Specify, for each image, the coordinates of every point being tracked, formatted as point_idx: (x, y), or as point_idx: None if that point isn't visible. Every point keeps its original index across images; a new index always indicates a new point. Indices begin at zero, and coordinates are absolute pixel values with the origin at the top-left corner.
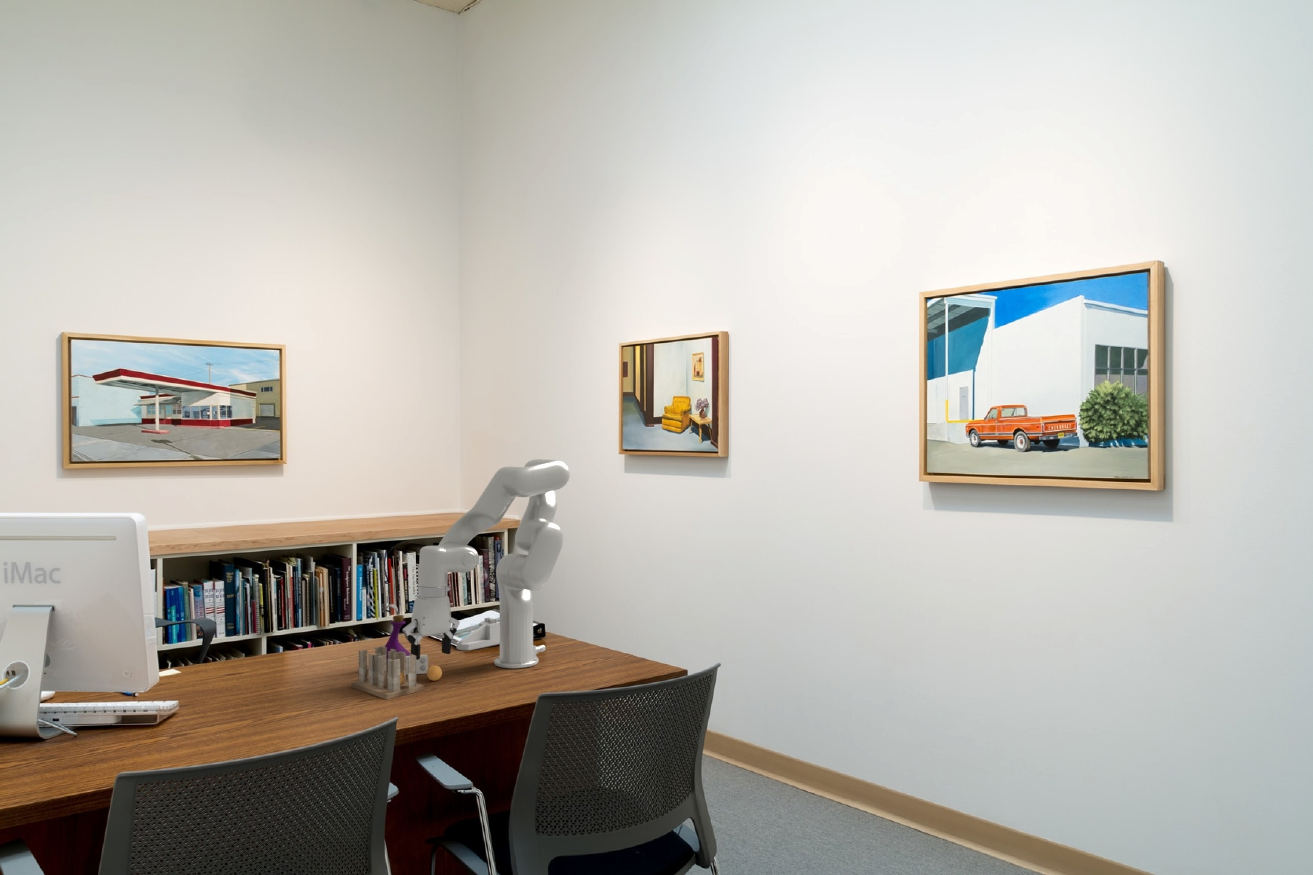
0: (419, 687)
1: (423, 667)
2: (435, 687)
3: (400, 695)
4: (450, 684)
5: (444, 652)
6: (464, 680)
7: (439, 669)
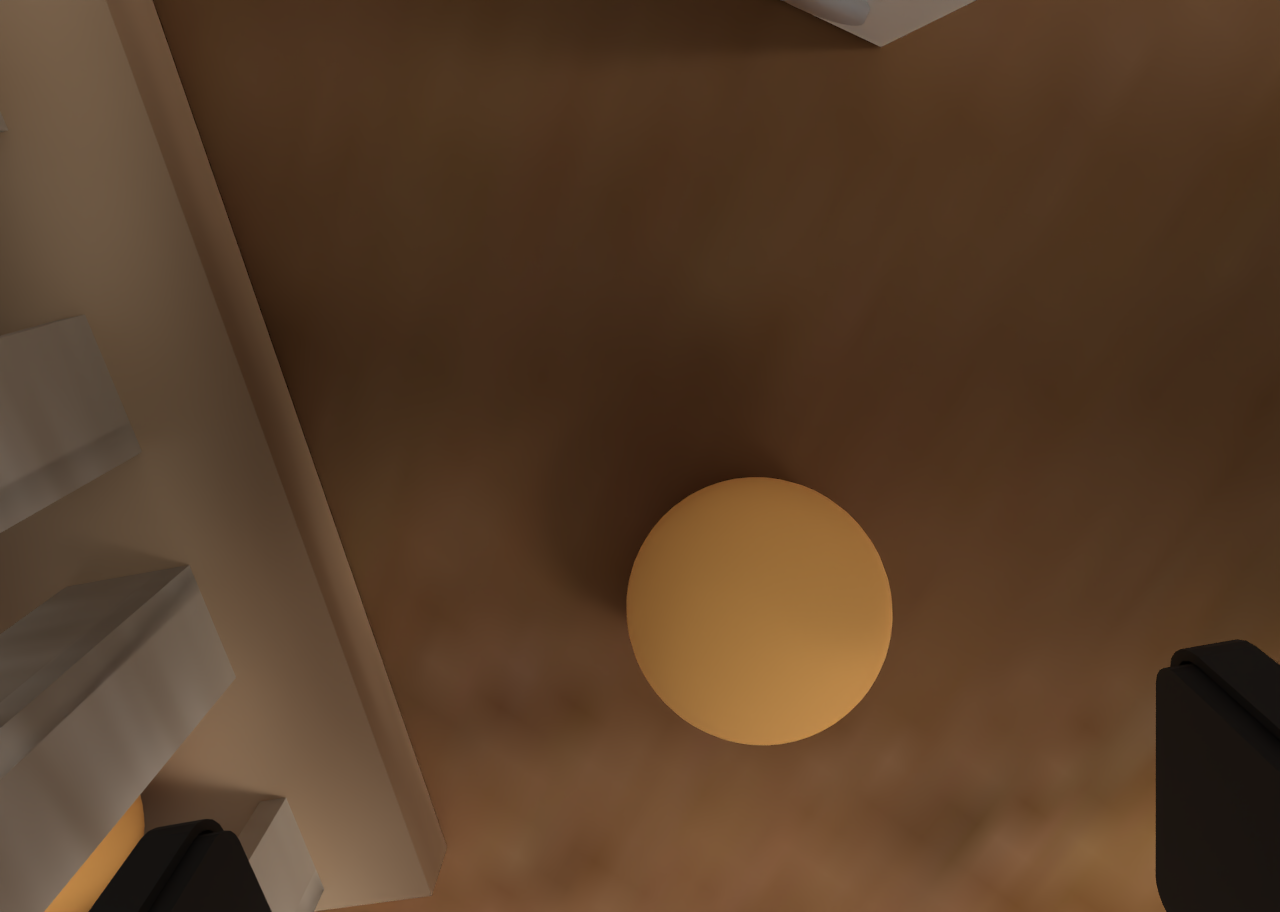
0: (365, 893)
1: (816, 4)
2: (605, 837)
3: None
4: (820, 834)
5: (1163, 782)
6: (1064, 789)
7: (814, 733)
